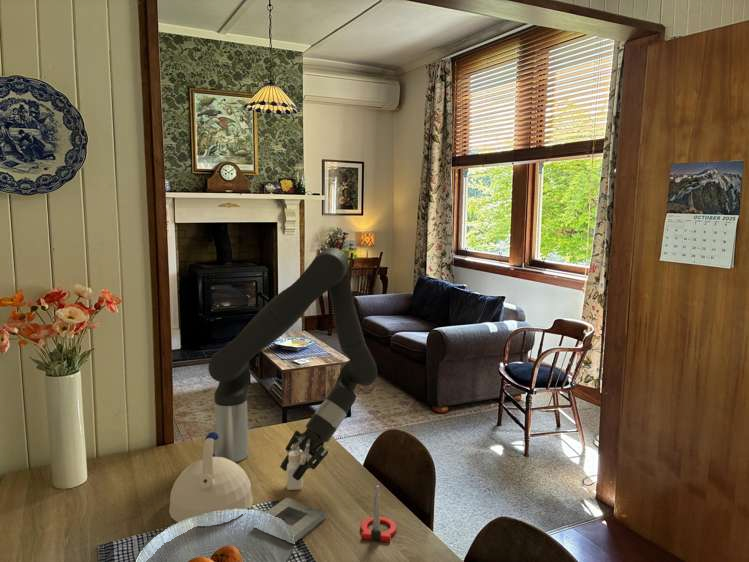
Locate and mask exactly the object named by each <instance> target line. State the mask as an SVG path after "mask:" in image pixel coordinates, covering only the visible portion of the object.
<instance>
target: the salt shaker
mask: <svg viewBox="0 0 749 562" xmlns="http://www.w3.org/2000/svg"><path fill="white" fill-rule="evenodd" d="M287 455H288V456H289V457H288V460H289V463H288V464H287V471H286V488H287V489H286V490H288V491H291V490H292V491H294V490H295V491H297V490H302V488H303V482H304V481H303V478H304V475H303V476H302V478H301V479H299V480H296V479H295V478H293V477H292V475H293V474H294V472H295V471H296V469H297V468H298V467H299V465H300V464H301V465H302V461H301V460H302V458H301V455H302V454H301V453H300V452H299V451H291V452H289V454H287Z"/></svg>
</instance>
